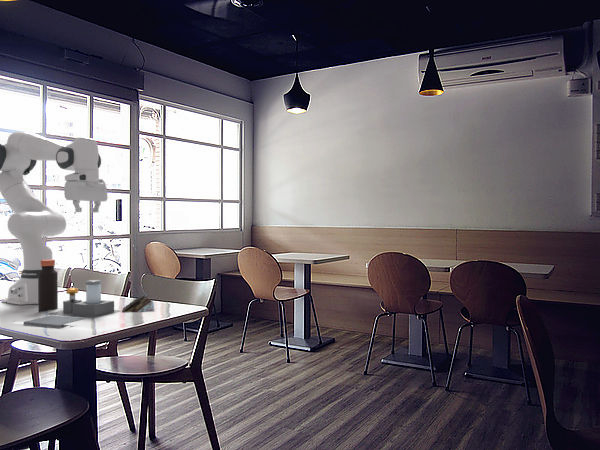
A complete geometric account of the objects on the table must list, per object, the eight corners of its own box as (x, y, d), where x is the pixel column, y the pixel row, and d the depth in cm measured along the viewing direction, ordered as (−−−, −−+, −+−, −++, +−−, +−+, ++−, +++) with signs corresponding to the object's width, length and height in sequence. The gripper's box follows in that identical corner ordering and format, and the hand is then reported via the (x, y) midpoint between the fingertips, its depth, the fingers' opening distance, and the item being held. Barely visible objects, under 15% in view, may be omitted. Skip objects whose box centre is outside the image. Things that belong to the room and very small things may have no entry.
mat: (23, 324, 175) (23, 321, 175) (51, 318, 186) (51, 315, 186) (60, 328, 169) (60, 325, 169) (86, 321, 180) (86, 318, 180)
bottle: (35, 313, 195) (35, 260, 195) (41, 310, 202) (41, 259, 202) (55, 312, 197) (54, 260, 196) (59, 309, 203) (59, 259, 203)
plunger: (64, 303, 193) (64, 289, 193) (72, 302, 197) (72, 288, 196) (72, 304, 191) (72, 289, 191) (80, 302, 195) (80, 288, 195)
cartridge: (82, 313, 189) (82, 281, 189) (93, 311, 194) (92, 279, 194) (94, 314, 187) (94, 282, 187) (104, 312, 192) (104, 280, 192)
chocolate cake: (132, 318, 189) (154, 293, 195) (120, 311, 193) (141, 287, 198) (143, 331, 196) (163, 307, 202) (130, 324, 200) (151, 300, 205)
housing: (45, 316, 188) (45, 303, 188) (77, 309, 203) (77, 297, 203) (93, 321, 181) (93, 307, 181) (123, 313, 196) (123, 300, 196)
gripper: (98, 179, 215) (99, 212, 215) (61, 175, 196) (61, 212, 196) (111, 179, 213) (111, 212, 213) (74, 175, 194) (74, 211, 194)
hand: (87, 212), depth 204 cm, fingers open, 8 cm apart
